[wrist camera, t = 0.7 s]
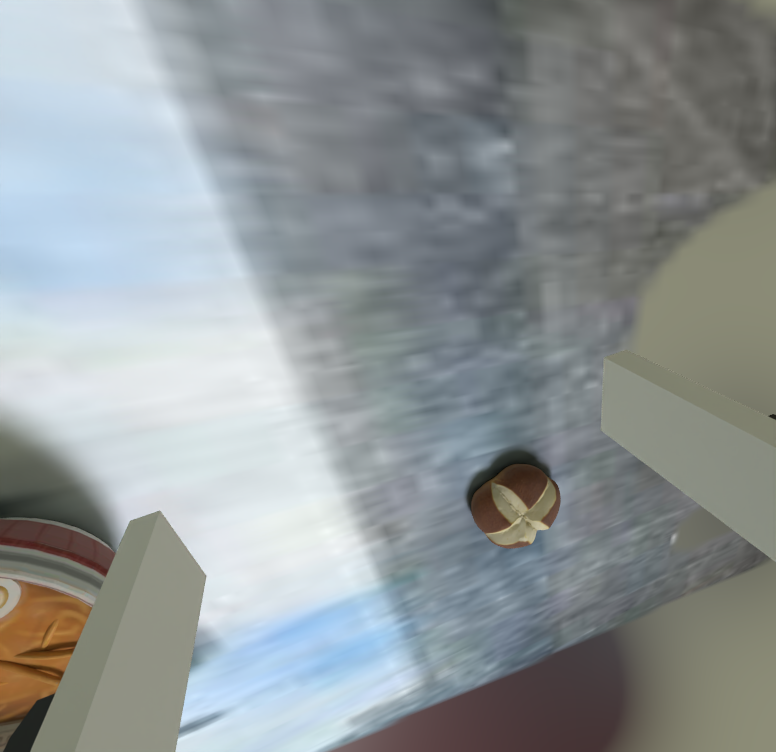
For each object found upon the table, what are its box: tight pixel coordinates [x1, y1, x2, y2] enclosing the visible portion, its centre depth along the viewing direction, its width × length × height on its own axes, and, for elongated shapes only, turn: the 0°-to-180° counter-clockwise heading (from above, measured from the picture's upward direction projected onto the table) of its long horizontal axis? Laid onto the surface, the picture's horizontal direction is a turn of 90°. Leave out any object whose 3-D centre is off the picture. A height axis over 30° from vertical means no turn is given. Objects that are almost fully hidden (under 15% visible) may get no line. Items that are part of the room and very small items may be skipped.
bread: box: [471, 464, 560, 548], centre depth 49 cm, size 11×11×5 cm
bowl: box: [0, 517, 116, 752], centre depth 34 cm, size 23×23×10 cm
